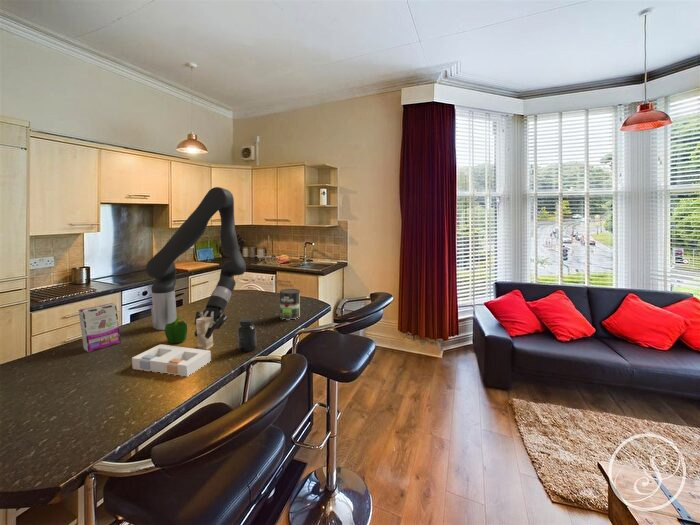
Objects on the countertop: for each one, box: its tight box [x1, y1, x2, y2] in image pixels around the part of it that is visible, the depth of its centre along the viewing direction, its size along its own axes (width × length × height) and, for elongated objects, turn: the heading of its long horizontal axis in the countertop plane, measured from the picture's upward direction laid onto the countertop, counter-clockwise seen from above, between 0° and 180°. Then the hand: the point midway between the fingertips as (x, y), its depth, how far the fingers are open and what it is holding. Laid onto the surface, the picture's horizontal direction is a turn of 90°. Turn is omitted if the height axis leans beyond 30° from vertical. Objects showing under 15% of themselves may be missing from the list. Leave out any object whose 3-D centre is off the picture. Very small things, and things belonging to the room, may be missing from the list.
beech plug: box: [195, 316, 214, 350], centre depth 128 cm, size 4×4×12 cm
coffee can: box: [279, 288, 301, 321], centre depth 166 cm, size 10×10×14 cm
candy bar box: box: [78, 302, 121, 353], centre depth 127 cm, size 11×5×16 cm, turn 148°
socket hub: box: [131, 344, 212, 378], centre depth 113 cm, size 22×12×4 cm, turn 77°
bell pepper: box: [164, 316, 188, 344], centre depth 133 cm, size 8×8×10 cm
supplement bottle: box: [237, 317, 258, 353], centre depth 127 cm, size 7×7×12 cm
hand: (201, 336), depth 126 cm, fingers closed on beech plug, 4 cm apart
